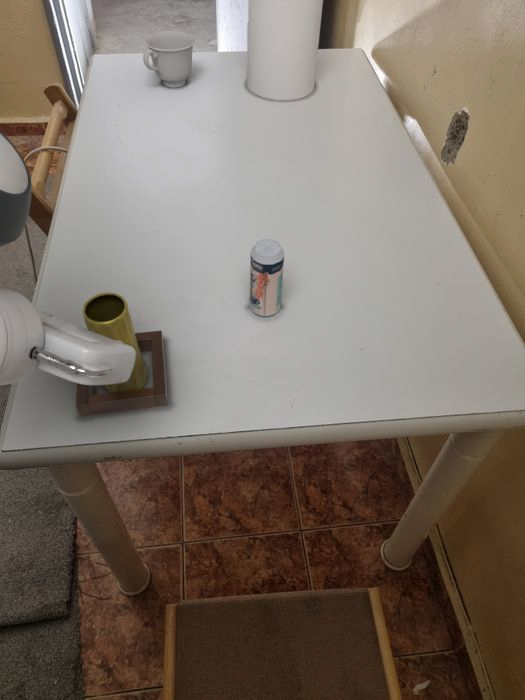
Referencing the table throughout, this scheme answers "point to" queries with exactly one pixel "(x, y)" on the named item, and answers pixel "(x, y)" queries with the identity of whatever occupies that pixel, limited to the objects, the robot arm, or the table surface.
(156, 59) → the teacup
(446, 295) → the table surface
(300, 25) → the cylinder
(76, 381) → the robot arm
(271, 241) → the beer can
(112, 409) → the brown wooden square frame
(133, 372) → the vase
